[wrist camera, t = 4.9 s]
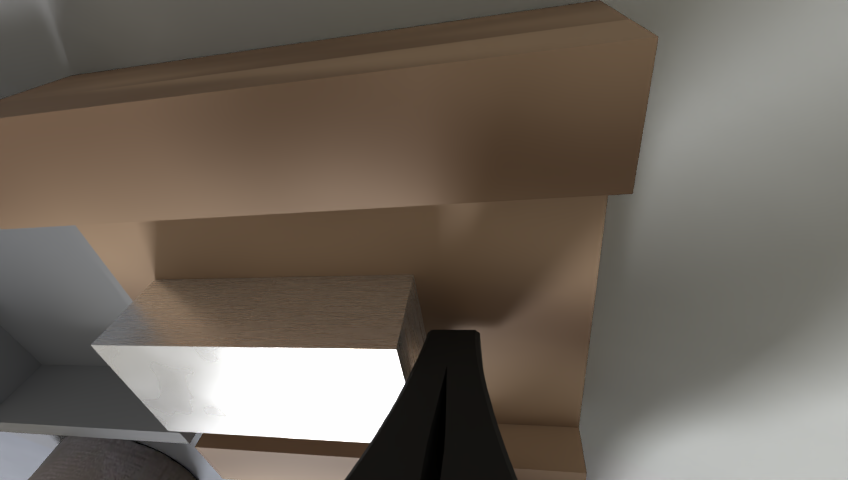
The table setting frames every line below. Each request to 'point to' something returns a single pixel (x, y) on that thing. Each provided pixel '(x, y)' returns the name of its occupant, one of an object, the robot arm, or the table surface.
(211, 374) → the chip
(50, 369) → the tray
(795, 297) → the table surface
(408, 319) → the chip
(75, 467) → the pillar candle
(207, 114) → the slot block
